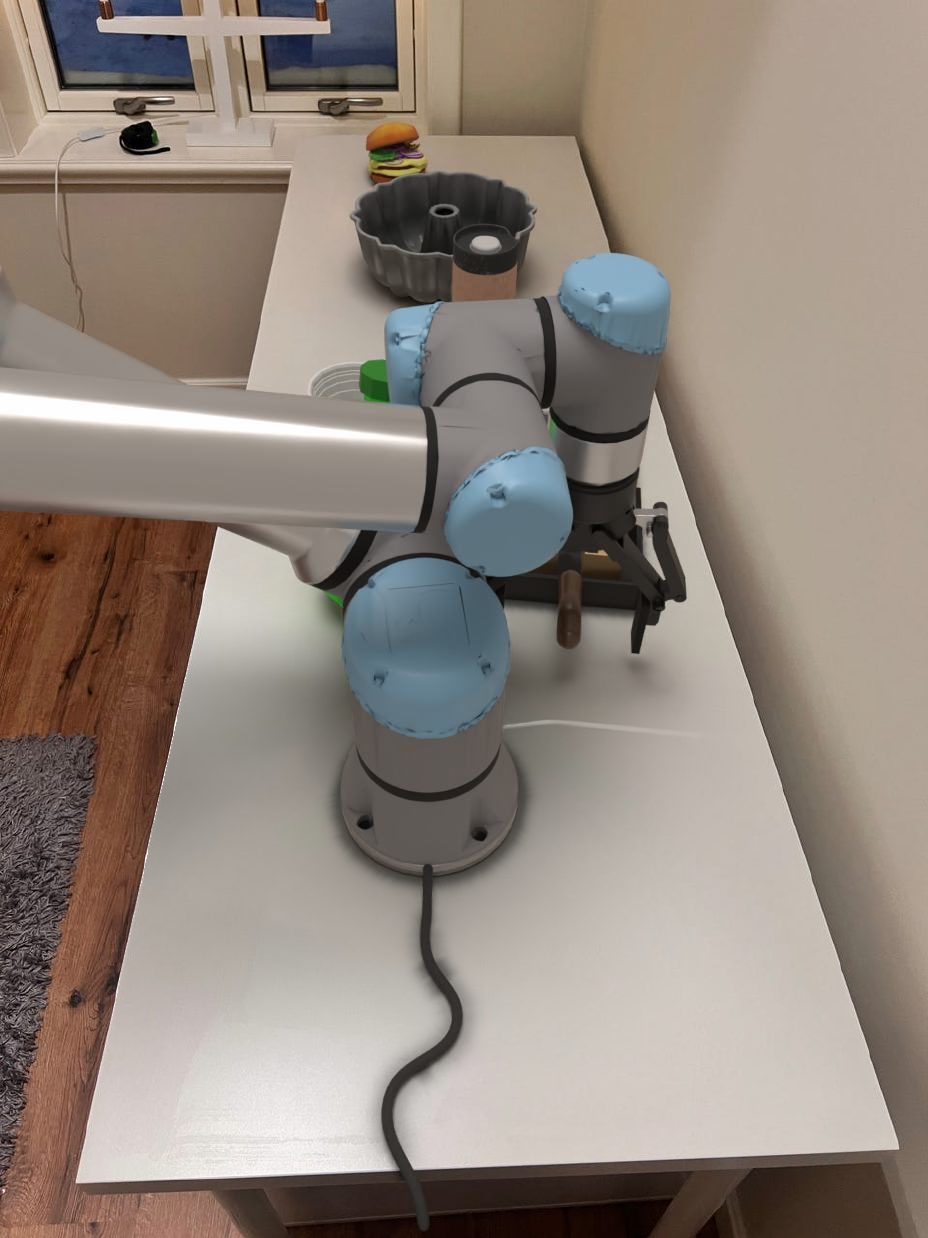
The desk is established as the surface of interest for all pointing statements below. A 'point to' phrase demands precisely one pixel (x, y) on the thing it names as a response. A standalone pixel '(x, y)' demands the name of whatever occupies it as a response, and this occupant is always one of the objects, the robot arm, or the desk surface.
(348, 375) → the plastic cup
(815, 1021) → the desk surface
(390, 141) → the cheeseburger
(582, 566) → the block
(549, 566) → the block
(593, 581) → the pan
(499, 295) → the travel mug
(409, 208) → the bundt pan
